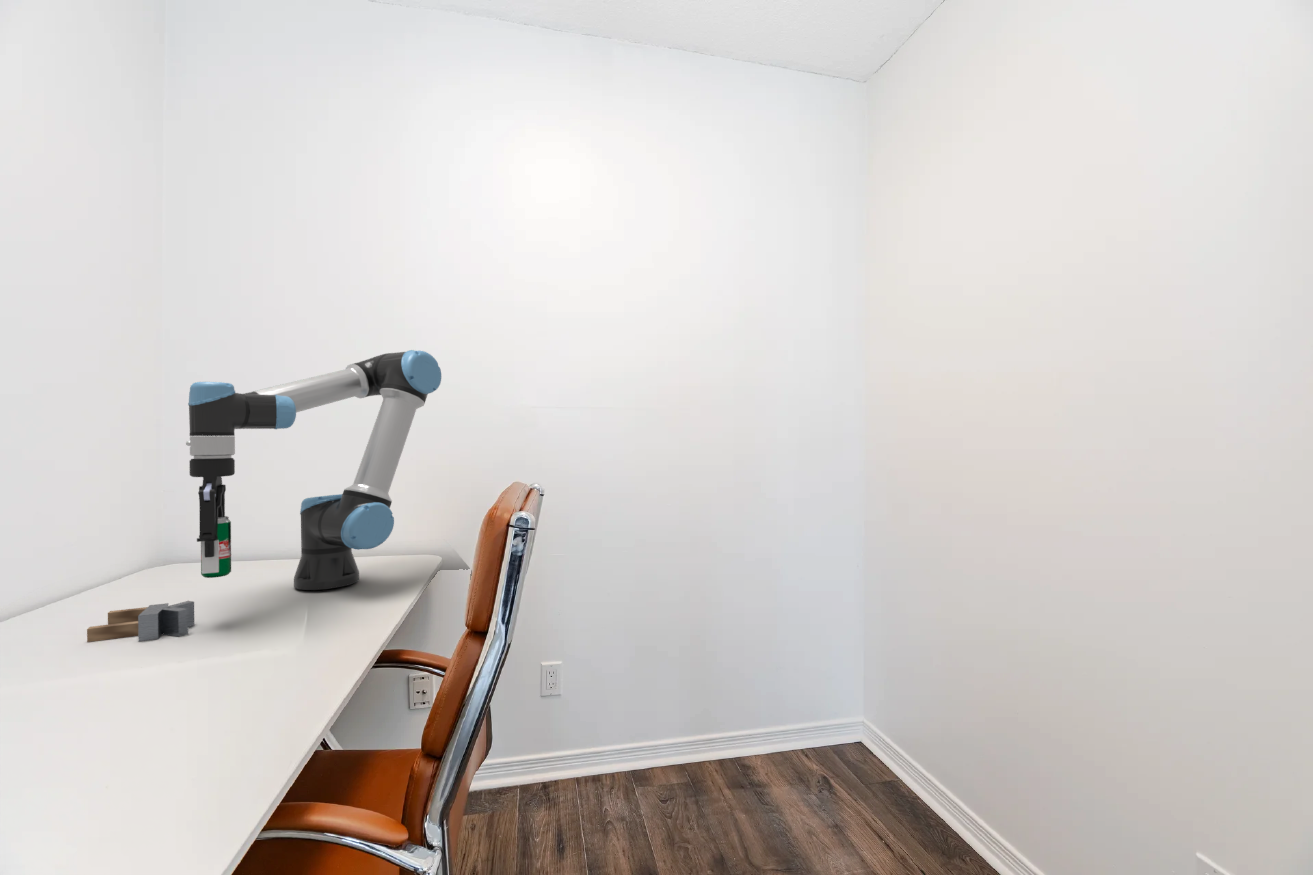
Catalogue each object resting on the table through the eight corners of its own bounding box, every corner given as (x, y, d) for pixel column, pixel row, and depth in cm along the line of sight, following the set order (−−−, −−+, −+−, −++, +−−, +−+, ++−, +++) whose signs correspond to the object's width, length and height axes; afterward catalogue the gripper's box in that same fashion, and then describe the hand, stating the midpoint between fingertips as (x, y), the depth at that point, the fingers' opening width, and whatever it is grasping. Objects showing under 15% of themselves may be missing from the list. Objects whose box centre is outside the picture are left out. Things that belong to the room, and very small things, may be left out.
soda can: (216, 578, 122) (216, 519, 122) (194, 577, 123) (194, 519, 123) (237, 573, 127) (237, 516, 127) (216, 572, 128) (215, 515, 128)
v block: (195, 623, 127) (195, 600, 127) (186, 635, 119) (186, 610, 119) (150, 629, 123) (150, 604, 123) (138, 641, 116) (137, 615, 116)
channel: (158, 617, 131) (158, 605, 131) (140, 635, 120) (140, 622, 120) (110, 622, 128) (110, 610, 128) (87, 641, 116) (87, 628, 116)
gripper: (199, 456, 131) (199, 563, 131) (179, 459, 115) (180, 581, 115) (240, 455, 134) (241, 559, 134) (227, 458, 118) (227, 576, 118)
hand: (213, 569), depth 125 cm, fingers closed on soda can, 5 cm apart
